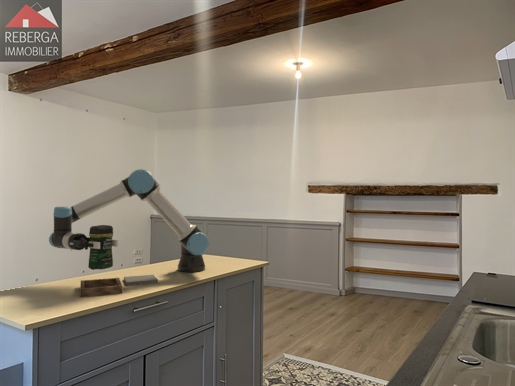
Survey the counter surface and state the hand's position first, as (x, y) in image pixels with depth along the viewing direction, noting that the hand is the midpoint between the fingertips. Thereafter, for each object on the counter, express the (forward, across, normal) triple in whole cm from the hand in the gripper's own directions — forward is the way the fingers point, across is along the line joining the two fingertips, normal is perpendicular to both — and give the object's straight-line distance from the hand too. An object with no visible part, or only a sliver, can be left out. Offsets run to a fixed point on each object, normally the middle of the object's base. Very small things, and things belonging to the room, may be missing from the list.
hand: (108, 244), depth 162 cm
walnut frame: (-5, 0, -20) cm, 21 cm away
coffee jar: (-5, 0, -11) cm, 12 cm away
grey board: (-3, -21, -20) cm, 29 cm away
